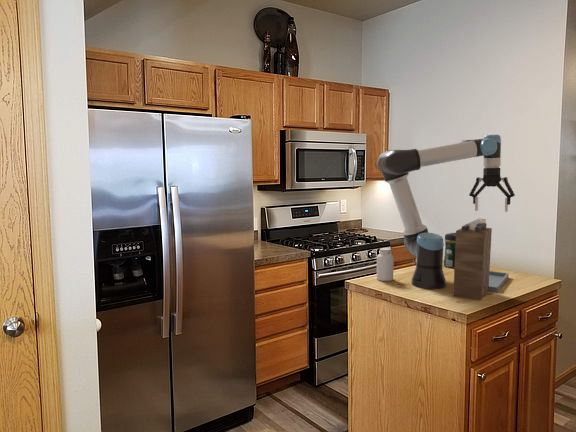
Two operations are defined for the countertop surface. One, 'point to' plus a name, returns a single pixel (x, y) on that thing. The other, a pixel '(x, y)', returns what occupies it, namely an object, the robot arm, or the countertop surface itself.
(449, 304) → the countertop surface
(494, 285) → the slate tray
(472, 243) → the walnut stand
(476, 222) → the steel bar
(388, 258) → the pill bottle
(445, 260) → the coffee jar
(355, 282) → the countertop surface
